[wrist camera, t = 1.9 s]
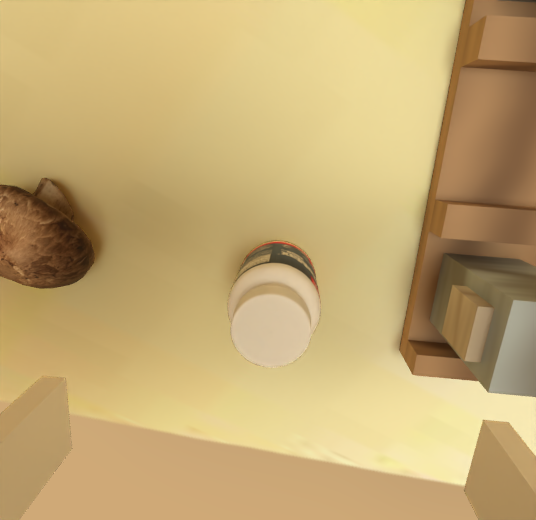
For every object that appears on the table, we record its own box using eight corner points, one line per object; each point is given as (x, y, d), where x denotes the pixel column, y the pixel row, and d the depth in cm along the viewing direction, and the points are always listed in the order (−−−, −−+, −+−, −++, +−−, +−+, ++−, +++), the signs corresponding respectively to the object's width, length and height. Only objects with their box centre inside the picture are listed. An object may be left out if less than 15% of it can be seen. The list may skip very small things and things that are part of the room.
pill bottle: (329, 283, 27) (347, 346, 18) (270, 322, 28) (261, 398, 19) (285, 224, 26) (283, 261, 17) (226, 266, 27) (196, 321, 18)
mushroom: (23, 127, 22) (-53, 203, 18) (137, 213, 26) (95, 289, 22) (-15, 183, 27) (-81, 251, 23) (86, 248, 31) (44, 314, 27)
